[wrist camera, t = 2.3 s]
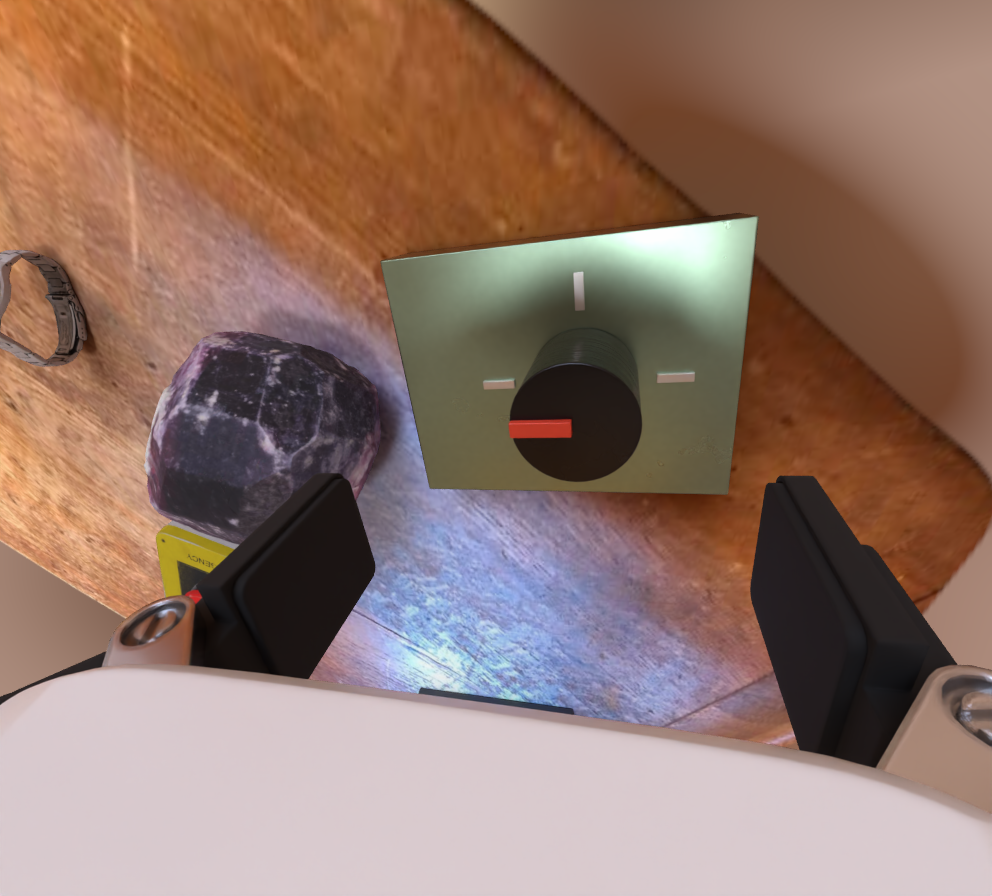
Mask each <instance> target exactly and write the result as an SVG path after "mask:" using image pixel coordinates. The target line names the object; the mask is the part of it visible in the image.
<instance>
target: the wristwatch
mask: <svg viewBox="0 0 992 896" xmlns="http://www.w3.org/2000/svg"><path fill="white" fill-rule="evenodd" d="M21 257H22V258H24V259H25V260H27V261H29V262H30V263H32V264H34V265H36V266H38V267H39V270H40V272H41V274H42V275H43V276H44V278H45V279H46V280H47V282H48V290H49V291H48V292H49V293H50V294H47V295H46V296H45V298H47V299H48V300H49V301H50V303H51V304H52V306H53V308H54V312H55V315H56V321H57V327H58V333H59V343H58V347H57V349H56V351H55V353H54V354H53V355H52V356H51V357H50V358H49V359H47V360H46V359H44V358H42V357H41V356H39V355H38V354H36V353H33V352H32V351H31V350H29V349H28V348H26V347H24V346H23V345H21V344H19V343H18V342H16V341H14V340H12V339H11V338H9V337H8V336H6V335H4V334H3V333H1V332H0V348H1V349H3V350H6V351H8V352H11V353H12V354H14V355H15V356H16V357H18V358H19V359H21V360H23V361H26V362H28V363H30V364H33V365H36V366H42V367H45V366H59V365H64V364H67V363H69V362H71V361H73V360H74V359H75V358H76V357H77V355H78V354H79V352H80V351H81V350H82V348H83V341H86V340H87V332H86V322H85V318H84V310H83V309H82V306H81V305H80V304H79V301H78V298H77V297H76V295H75V293H74V291H73V289H72V286H71V284H70V281H69V278H68V276H67V275H66V273H65V271H64V270H63V269H62V268H61V266H60V265H59V264H58V263H57V262H55V261H54V260H53V259H51V258H48V257H46V256H44V255H40V254H37V253H35V252H32V251H27V250H6V251H3V252H1V253H0V326H1V318H2V316H3V314H4V312H5V310H6V308H7V306H8V303H9V301H10V297H11V284H10V280H9V274H10V271H11V268H12V267H11V266H12V265H13V264H14V263H16V262H17V261H18V260H19V259H20V258H21Z"/></svg>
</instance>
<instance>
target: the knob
mask: <svg viewBox="0 0 992 896" xmlns="http://www.w3.org/2000/svg"><path fill="white" fill-rule="evenodd" d="M508 425H509V434H510V438H513V441H514V443H515V445H516V447H517V449H518V450H519V452H520V453H521V455H522V456H523V457H524V458H525V460H526V461H527V462H528V463H529V464H531V465H532V466H533V467H534V468H536V469H537V470H538V471H540V472H542V473H544V474H545V475H548V476H550V477H552V478H556V479H559V480H563V481H569V482H586V481H593V480H596V479H600V478H603V477H605V476H608V475H609V474H611V473H613V472H615V471H616V470H618V469H619V468H620V467H622V466H623V465H624V464H625V463H626V462H627V461H628V460H629V459H630V457H631V456H632V455H633V453H634V451H635V450H636V448H637V446H638V443H639V441H640V437H641V433H642V413H641V401H640V390H639V378H638V370H637V365H636V363H635V360H634V358H633V356H632V354H631V352H630V351H629V350H628V348H627V347H626V346H625V345H624V344H623V343H622V342H621V341H619V340H618V339H617V338H616V337H614V336H612V335H610V334H608V333H606V332H603V331H600V330H596V329H589V328H581V329H573V330H570V331H566V332H564V333H561V334H559V335H557V336H555V337H554V338H552V339H551V340H550V341H548V342H547V343H546V344H545V345H544V346H543V347H542V349H541V350H540V351H539V353H538V354H537V356H536V358H535V360H534V362H533V364H532V365H531V367H530V369H529V371H528V373H527V375H526V377H525V379H524V380H523V382H522V384H521V386H520V388H519V390H518V392H517V394H516V395H515V398H514V400H513V403H512V406H511V410H510V422H509V424H508Z"/></svg>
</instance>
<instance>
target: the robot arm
mask: <svg viewBox="0 0 992 896" xmlns="http://www.w3.org/2000/svg"><path fill="white" fill-rule="evenodd" d="M374 573H375V561H374V558H373V555H372V551H371V548H370V545H369V542H368V538H367V535H366V532H365V529H364V526H363V522H362V519H361V516H360V513H359V509H358V506H357V503H356V500H355V497H354V493H353V490H352V487H351V484H350V482H349V481H348V480H347V479H345V478H344V477H343V476H342V474H339V473H317V474H315V475H314V476H312V477H311V478H310V479H309V480H308V481H307V482H306V483H305V484H304V485H303V486H302V487H301V488H300V489H299V490H298V491H296V492H295V493H294V494H293V495H292V496H291V497H290V498H289V499H288V500H287V501H286V502H285V503H284V504H283V505H281V506H280V507H279V508H278V509H277V510H276V511H275V512H274V513H273V514H272V515H271V516H270V517H269V518H268V519H267V520H265V521H264V522H263V523H262V524H261V525H260V526H259V527H258V528H257V529H256V530H255V531H254V532H253V533H252V534H250V535H249V536H248V537H247V538H246V539H245V540H244V541H243V542H242V543H241V544H240V545H239V546H238V547H237V548H236V549H234V550H233V551H232V552H231V553H230V554H229V555H228V556H227V557H226V558H225V559H224V560H223V561H222V562H221V563H219V564H218V565H217V566H216V567H215V568H214V569H213V570H212V571H211V572H210V573H209V574H208V575H207V576H206V577H205V578H203V579H202V580H201V581H200V582H199V583H198V584H197V585H196V587H197V589H198V591H199V593H200V595H201V596H202V598H201V599H200V600H199V601H198V602H197V603H196V604H195V602H194V600H193V599H191V598H190V597H189V596H184V595H176V596H169V597H166V598H162V599H159V600H156V601H154V602H152V603H150V604H148V605H145V606H144V607H142V608H141V609H139V610H137V611H136V612H134V613H133V614H131V615H130V616H129V617H128V618H126V619H125V620H124V621H123V622H122V623H121V624H120V625H119V626H118V627H117V629H116V630H115V631H114V633H113V635H112V637H111V639H110V642H109V645H108V648H107V651H106V652H103V653H101V654H99V655H96V656H94V657H92V658H90V659H87V660H85V661H83V662H81V663H78V664H76V665H73V666H71V667H69V668H67V669H64V670H62V671H60V672H58V673H55V674H53V675H51V676H48V677H46V678H44V679H41V680H39V681H37V682H35V683H32V684H30V685H27V686H25V687H23V688H21V689H18V690H16V691H14V692H12V693H9V694H6V695H3V696H1V697H0V896H992V670H989V669H985V668H980V667H976V666H972V665H957V663H956V662H955V661H954V659H953V658H952V656H951V655H950V653H949V652H948V651H947V650H946V648H945V647H944V645H943V644H942V642H941V641H940V639H939V638H938V637H937V635H936V634H935V632H934V631H933V630H932V628H931V627H930V625H928V623H927V621H926V620H925V618H924V617H923V616H922V614H921V613H920V611H919V610H918V609H917V607H916V606H915V604H914V603H913V602H912V600H911V599H910V597H909V596H908V595H907V593H906V592H905V590H904V589H903V588H902V586H901V585H900V583H899V582H898V581H897V579H896V578H895V576H894V575H893V574H892V572H891V571H890V569H889V568H888V567H887V565H886V564H885V562H884V561H883V560H882V558H881V557H880V555H879V554H878V553H877V552H876V551H875V550H874V549H873V548H872V547H870V546H868V545H861V544H860V543H859V541H858V540H857V538H856V537H855V535H854V534H853V533H852V531H851V530H850V528H849V527H848V525H847V524H846V522H845V521H844V519H843V518H842V516H841V515H840V513H839V512H838V511H837V509H836V508H835V506H834V505H833V503H832V502H831V500H830V499H829V497H828V496H827V494H826V493H825V492H824V490H823V489H822V487H821V486H820V484H819V483H818V481H817V480H816V479H815V478H814V477H813V476H779V477H778V478H777V480H776V483H768V484H767V485H766V488H765V494H764V501H763V507H762V514H761V520H760V527H759V533H758V540H757V546H756V553H755V559H754V566H753V572H752V579H751V587H750V592H751V600H752V604H753V607H754V610H755V613H756V617H757V620H758V623H759V626H760V629H761V632H762V635H763V638H764V641H765V644H766V647H767V651H768V654H769V657H770V660H771V663H772V666H773V669H774V672H775V675H776V678H777V681H778V684H779V688H780V691H781V694H782V697H783V700H784V703H785V706H786V709H787V712H788V715H789V718H790V722H791V725H792V728H793V731H794V734H795V737H796V740H797V743H798V746H799V749H800V750H796V749H791V748H786V747H781V746H776V745H771V744H765V743H759V742H753V741H746V740H740V739H733V738H727V737H721V736H714V735H708V734H701V733H695V732H689V731H682V730H676V729H669V728H663V727H656V726H649V725H642V724H635V723H628V722H620V721H613V720H606V719H599V718H592V717H585V716H578V715H570V714H563V713H556V712H549V711H542V710H535V709H528V708H521V707H513V706H506V705H499V704H491V703H484V702H476V701H469V700H462V699H454V698H447V697H439V696H432V695H424V694H417V693H409V692H402V691H394V690H387V689H379V688H372V687H364V686H357V685H349V684H341V683H333V682H325V681H318V680H310V679H309V677H310V676H311V674H312V672H313V671H314V669H315V668H316V666H317V665H318V663H319V661H320V660H321V658H322V657H323V655H324V653H325V652H326V650H327V649H328V647H329V646H330V644H331V642H332V641H333V639H334V638H335V636H336V635H337V633H338V631H339V630H340V628H341V627H342V625H343V624H344V622H345V620H346V619H347V617H348V616H349V614H350V613H351V611H352V609H353V608H354V606H355V605H356V603H357V601H358V600H359V598H360V597H361V595H362V594H363V592H364V590H365V589H366V587H367V586H368V584H369V583H370V581H371V579H372V578H373V576H374Z"/></svg>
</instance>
